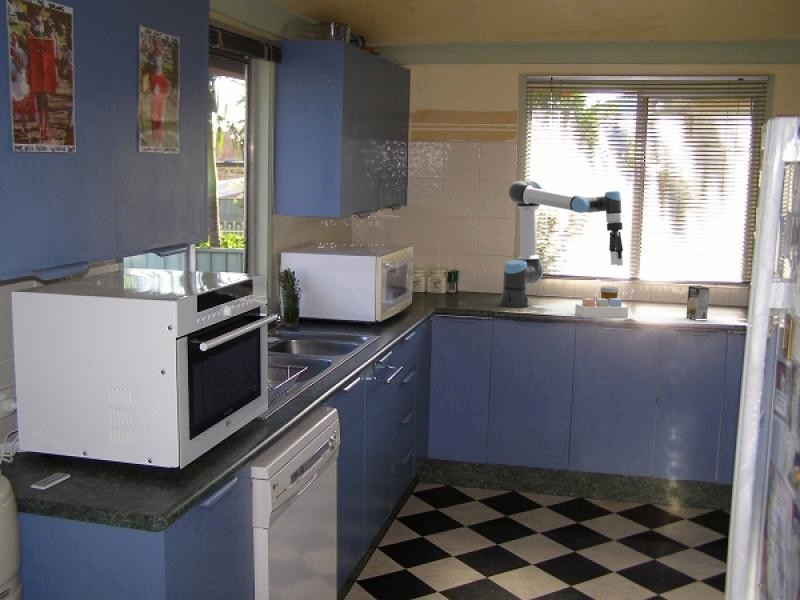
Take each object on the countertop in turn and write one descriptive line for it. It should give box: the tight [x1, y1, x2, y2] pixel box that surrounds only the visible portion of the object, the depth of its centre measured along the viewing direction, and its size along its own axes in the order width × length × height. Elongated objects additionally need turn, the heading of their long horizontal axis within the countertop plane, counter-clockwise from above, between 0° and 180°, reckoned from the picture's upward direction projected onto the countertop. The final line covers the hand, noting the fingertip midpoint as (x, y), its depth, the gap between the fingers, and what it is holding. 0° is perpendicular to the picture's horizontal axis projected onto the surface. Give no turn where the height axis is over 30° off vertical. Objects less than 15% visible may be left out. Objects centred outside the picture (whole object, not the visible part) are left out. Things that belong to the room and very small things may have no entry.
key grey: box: [595, 297, 608, 307], centre depth 452 cm, size 5×5×6 cm
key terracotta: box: [581, 297, 596, 307], centre depth 451 cm, size 5×5×6 cm
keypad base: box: [574, 303, 629, 319], centre depth 453 cm, size 11×23×5 cm, turn 102°
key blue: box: [609, 297, 622, 306], centre depth 454 cm, size 5×5×6 cm
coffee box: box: [685, 285, 711, 320], centre depth 449 cm, size 9×6×16 cm
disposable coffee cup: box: [599, 285, 620, 304], centre depth 470 cm, size 10×10×12 cm
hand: (616, 265), depth 455 cm, fingers open, 13 cm apart
